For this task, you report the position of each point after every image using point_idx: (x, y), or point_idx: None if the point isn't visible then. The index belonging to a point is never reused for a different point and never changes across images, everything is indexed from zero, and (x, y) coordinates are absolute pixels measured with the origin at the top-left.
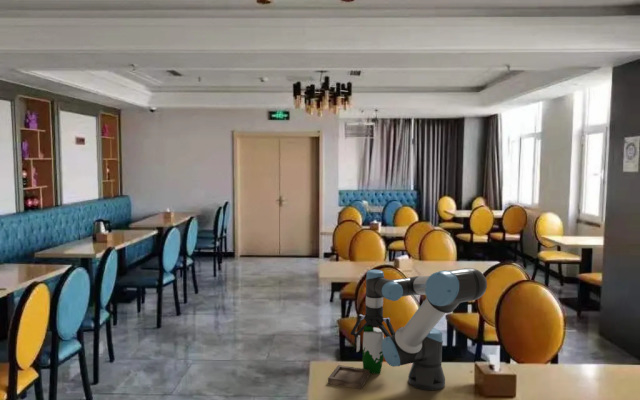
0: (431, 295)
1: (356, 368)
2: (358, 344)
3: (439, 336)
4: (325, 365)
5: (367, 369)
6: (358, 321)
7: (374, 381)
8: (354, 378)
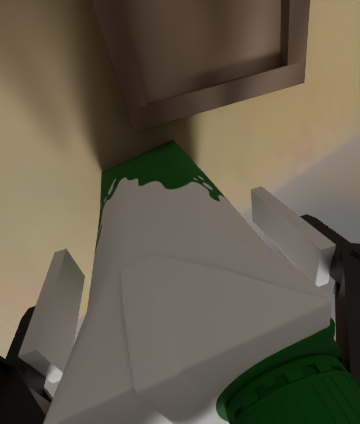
0: None
1: (203, 102)
2: (278, 218)
3: None
4: (348, 99)
5: (157, 149)
6: None
7: (63, 69)
8: None
